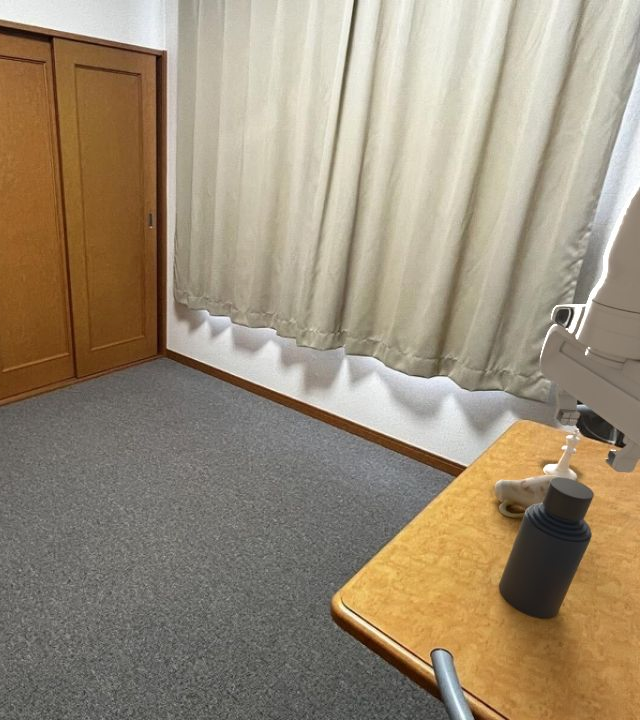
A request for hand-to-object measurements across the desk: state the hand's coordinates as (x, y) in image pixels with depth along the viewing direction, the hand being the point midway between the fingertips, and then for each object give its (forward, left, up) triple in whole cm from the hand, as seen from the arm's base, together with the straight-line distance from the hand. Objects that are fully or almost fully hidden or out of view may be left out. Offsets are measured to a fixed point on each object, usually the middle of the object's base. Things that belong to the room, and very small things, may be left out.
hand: (588, 443), depth 55 cm
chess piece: (-20, -30, -25) cm, 44 cm away
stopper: (0, 0, -10) cm, 10 cm away
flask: (0, 0, -25) cm, 25 cm away
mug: (-9, -19, -25) cm, 33 cm away
